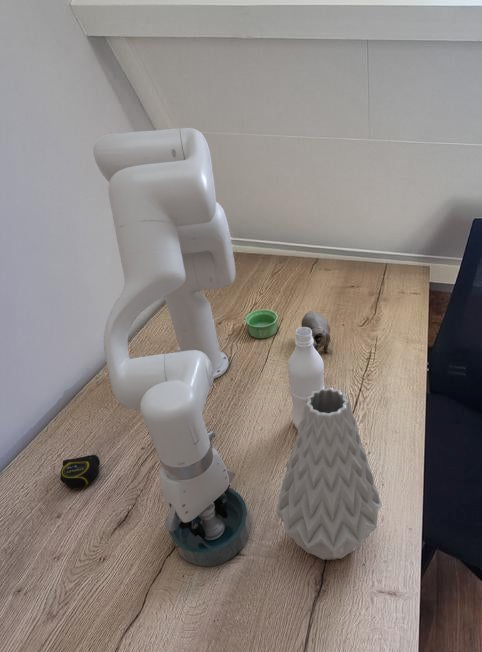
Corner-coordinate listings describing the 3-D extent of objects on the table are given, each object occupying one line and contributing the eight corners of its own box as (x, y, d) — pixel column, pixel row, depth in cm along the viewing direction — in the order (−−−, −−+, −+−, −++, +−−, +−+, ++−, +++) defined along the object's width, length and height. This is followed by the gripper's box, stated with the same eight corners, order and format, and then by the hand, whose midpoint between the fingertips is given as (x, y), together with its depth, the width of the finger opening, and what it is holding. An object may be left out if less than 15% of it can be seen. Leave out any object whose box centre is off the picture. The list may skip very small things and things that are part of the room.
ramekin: (285, 327, 129) (283, 314, 126) (266, 343, 124) (264, 330, 121) (259, 319, 133) (258, 306, 130) (240, 334, 127) (238, 321, 124)
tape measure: (103, 462, 95) (96, 450, 92) (98, 488, 90) (91, 477, 87) (69, 468, 94) (62, 456, 92) (62, 494, 89) (54, 483, 87)
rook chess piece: (214, 545, 79) (205, 520, 74) (195, 534, 81) (185, 508, 75) (230, 526, 82) (222, 500, 76) (211, 515, 84) (202, 489, 78)
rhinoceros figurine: (332, 320, 126) (327, 298, 111) (334, 368, 123) (329, 351, 108) (305, 322, 127) (296, 300, 112) (306, 369, 124) (297, 353, 110)
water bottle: (322, 439, 97) (319, 344, 80) (289, 435, 98) (280, 341, 81) (327, 416, 102) (326, 322, 85) (296, 412, 103) (289, 319, 86)
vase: (263, 531, 81) (236, 395, 59) (333, 483, 88) (333, 346, 66) (321, 604, 71) (316, 475, 49) (396, 544, 78) (421, 406, 56)
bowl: (160, 537, 81) (152, 522, 78) (215, 489, 89) (211, 473, 85) (209, 583, 75) (203, 568, 71) (265, 526, 82) (262, 510, 79)
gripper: (212, 413, 74) (230, 481, 86) (124, 479, 64) (158, 545, 77) (245, 433, 70) (258, 502, 82) (156, 507, 61) (186, 571, 73)
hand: (209, 522), depth 79 cm, fingers open, 4 cm apart
